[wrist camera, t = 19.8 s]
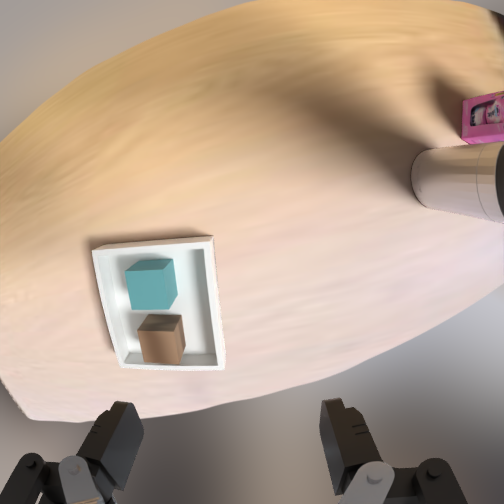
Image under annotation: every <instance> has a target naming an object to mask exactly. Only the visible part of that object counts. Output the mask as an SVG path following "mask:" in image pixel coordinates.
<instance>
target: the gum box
mask: <svg viewBox="0 0 504 504" xmlns="http://www.w3.org/2000/svg"><path fill="white" fill-rule="evenodd" d="M461 139H462V140H464V141H466V142H468V143H469V144H478V143H489V142H499V141H504V91H501V92H496V93H491V94H487V95H483V96H478V97H474V98H471V99H467V100H464V101H463V114H462V136H461Z"/></svg>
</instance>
